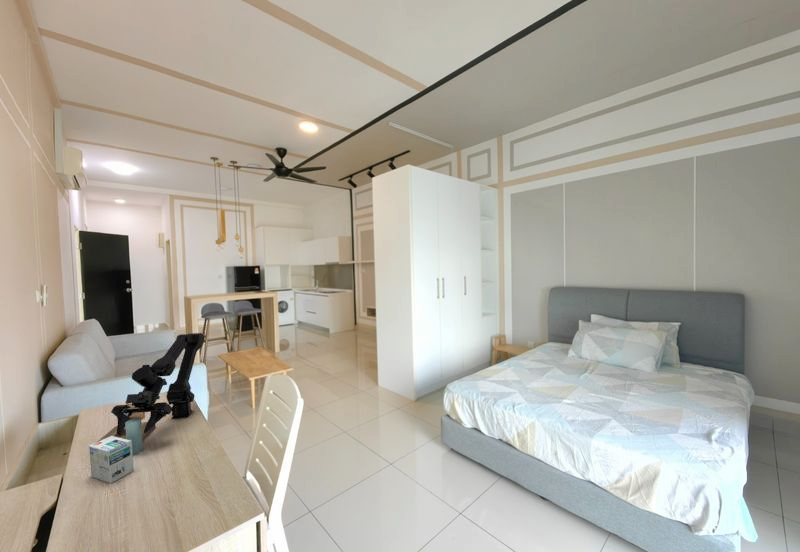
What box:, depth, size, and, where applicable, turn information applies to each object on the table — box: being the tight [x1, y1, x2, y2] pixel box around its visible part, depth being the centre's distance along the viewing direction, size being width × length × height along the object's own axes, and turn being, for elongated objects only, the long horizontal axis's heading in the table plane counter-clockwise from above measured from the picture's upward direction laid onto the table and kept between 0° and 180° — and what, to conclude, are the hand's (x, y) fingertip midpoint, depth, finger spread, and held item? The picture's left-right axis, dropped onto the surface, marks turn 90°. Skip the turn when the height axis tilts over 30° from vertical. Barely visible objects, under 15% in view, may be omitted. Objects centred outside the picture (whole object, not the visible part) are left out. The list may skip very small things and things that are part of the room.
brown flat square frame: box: [96, 421, 156, 443], centre depth 124 cm, size 14×14×3 cm
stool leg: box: [125, 418, 144, 457], centre depth 114 cm, size 4×4×12 cm
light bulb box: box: [88, 436, 134, 484], centre depth 103 cm, size 11×7×11 cm, turn 71°
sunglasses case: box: [125, 403, 146, 421], centre depth 144 cm, size 18×7×7 cm
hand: (131, 433), depth 113 cm, fingers open, 9 cm apart
